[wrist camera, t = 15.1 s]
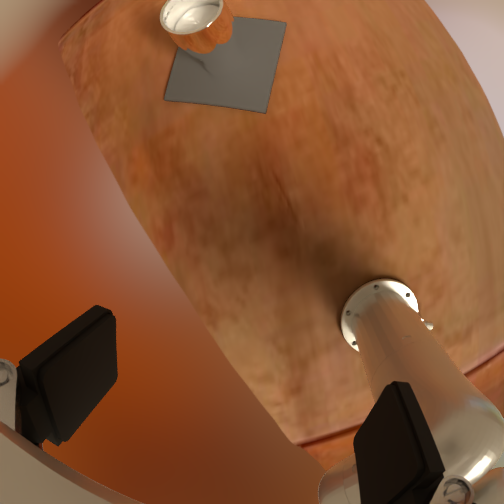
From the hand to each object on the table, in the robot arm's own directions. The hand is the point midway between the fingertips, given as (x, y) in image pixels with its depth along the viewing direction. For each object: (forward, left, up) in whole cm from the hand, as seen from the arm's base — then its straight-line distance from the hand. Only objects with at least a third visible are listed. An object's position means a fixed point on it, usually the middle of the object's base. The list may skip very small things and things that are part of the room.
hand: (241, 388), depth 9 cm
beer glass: (+13, -22, -33) cm, 41 cm away
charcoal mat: (+13, -22, -33) cm, 42 cm away
